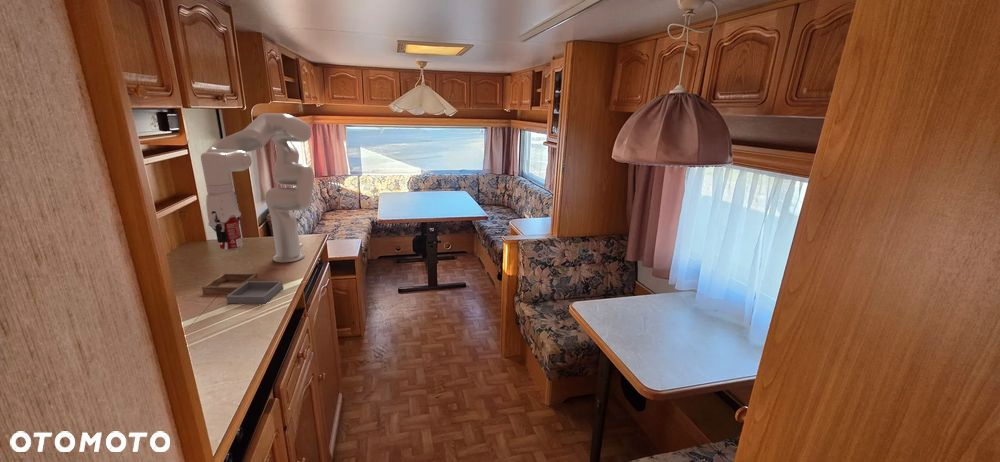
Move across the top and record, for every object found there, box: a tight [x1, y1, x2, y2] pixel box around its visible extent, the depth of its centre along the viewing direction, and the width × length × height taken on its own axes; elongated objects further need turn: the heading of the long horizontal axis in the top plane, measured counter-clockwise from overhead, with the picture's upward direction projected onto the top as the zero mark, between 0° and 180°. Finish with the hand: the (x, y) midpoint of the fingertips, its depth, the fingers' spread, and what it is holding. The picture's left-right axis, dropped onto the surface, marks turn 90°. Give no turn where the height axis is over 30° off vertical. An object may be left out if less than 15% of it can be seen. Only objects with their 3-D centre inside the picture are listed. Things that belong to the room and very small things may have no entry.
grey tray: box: [225, 280, 284, 306], centre depth 143 cm, size 13×13×3 cm
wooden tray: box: [201, 272, 259, 295], centre depth 150 cm, size 13×13×2 cm
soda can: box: [218, 216, 244, 252], centre depth 142 cm, size 7×7×12 cm
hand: (229, 238), depth 142 cm, fingers closed on soda can, 6 cm apart
